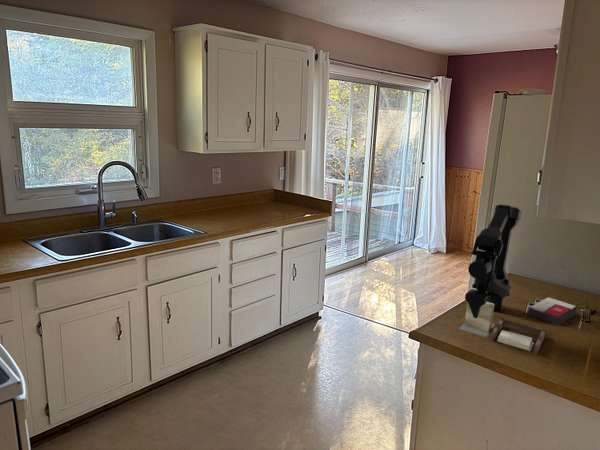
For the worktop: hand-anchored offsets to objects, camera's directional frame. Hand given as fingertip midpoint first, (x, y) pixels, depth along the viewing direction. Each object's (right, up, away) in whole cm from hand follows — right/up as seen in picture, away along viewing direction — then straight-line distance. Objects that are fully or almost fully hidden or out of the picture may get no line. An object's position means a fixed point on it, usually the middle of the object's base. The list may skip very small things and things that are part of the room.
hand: (479, 313), depth 158 cm
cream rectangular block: (0, -5, +1) cm, 5 cm away
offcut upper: (+8, -7, -9) cm, 14 cm away
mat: (0, -5, +1) cm, 6 cm away
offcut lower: (+8, -9, -8) cm, 15 cm away
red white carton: (+33, -4, +14) cm, 36 cm away
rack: (+10, -8, -6) cm, 14 cm away
